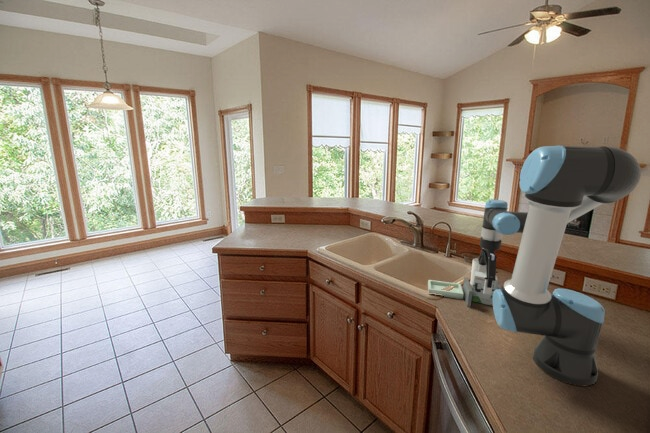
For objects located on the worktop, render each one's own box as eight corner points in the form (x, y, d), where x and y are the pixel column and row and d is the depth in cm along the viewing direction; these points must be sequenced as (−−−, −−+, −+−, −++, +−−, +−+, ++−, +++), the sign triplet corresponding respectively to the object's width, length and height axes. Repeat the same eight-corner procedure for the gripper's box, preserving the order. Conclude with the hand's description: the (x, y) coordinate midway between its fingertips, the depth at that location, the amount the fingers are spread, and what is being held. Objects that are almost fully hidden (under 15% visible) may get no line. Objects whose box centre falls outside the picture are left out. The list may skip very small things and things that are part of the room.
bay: (503, 311, 120) (506, 295, 118) (467, 306, 123) (469, 290, 122) (495, 296, 132) (497, 281, 131) (462, 291, 136) (464, 277, 134)
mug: (479, 289, 138) (482, 265, 135) (466, 283, 144) (469, 260, 141) (492, 284, 143) (496, 261, 140) (479, 279, 149) (483, 256, 146)
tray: (462, 299, 129) (463, 293, 129) (428, 294, 133) (429, 289, 132) (459, 288, 139) (460, 283, 138) (427, 284, 142) (428, 279, 142)
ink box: (470, 300, 128) (473, 275, 125) (470, 295, 132) (474, 270, 129) (493, 306, 124) (497, 279, 121) (493, 300, 128) (497, 275, 126)
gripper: (510, 249, 109) (501, 302, 114) (494, 230, 132) (487, 274, 138) (487, 247, 111) (479, 299, 116) (475, 228, 134) (469, 272, 140)
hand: (483, 286), depth 127 cm, fingers open, 13 cm apart
